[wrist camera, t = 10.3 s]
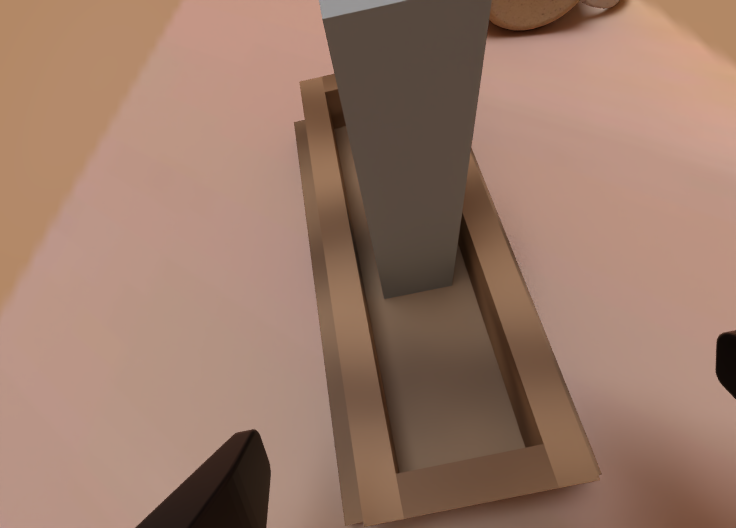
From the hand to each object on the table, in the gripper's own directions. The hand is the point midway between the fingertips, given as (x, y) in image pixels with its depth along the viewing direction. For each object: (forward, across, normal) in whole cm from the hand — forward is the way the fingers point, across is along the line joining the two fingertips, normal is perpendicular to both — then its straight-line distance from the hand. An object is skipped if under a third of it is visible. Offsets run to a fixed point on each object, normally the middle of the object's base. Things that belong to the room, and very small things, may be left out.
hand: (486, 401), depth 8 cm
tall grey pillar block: (+12, 0, 0) cm, 12 cm away
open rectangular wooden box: (+12, 0, +1) cm, 12 cm away
